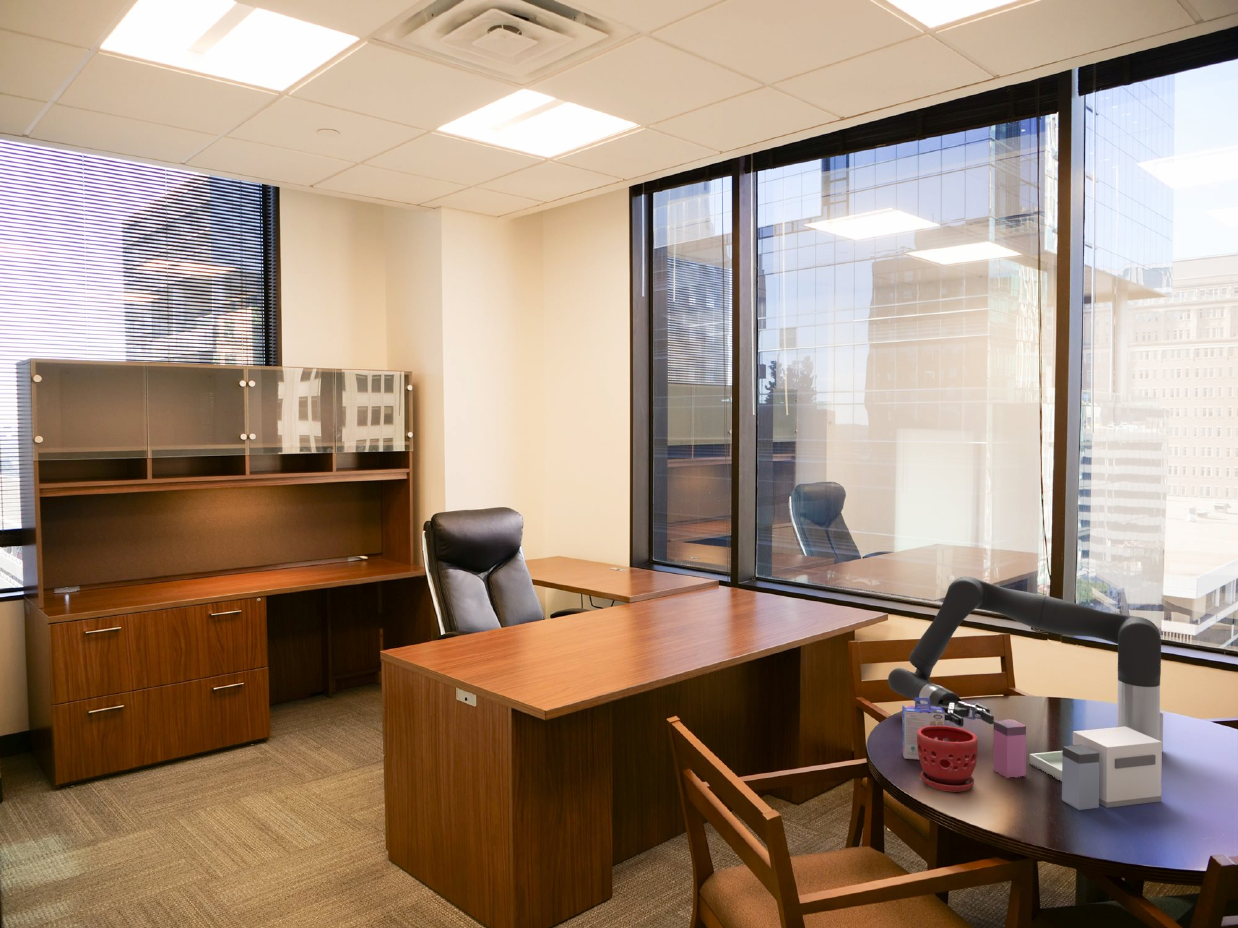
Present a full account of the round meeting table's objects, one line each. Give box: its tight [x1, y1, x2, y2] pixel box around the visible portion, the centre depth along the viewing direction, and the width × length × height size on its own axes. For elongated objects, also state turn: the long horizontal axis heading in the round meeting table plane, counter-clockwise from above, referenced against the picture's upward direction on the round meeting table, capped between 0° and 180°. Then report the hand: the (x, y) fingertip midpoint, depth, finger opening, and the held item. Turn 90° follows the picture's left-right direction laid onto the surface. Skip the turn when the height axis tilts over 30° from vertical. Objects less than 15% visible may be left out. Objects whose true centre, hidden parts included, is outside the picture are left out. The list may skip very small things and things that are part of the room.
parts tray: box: [1029, 750, 1062, 783], centre depth 201 cm, size 11×11×2 cm
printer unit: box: [1072, 726, 1163, 809], centre depth 187 cm, size 14×11×13 cm
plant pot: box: [917, 725, 979, 793], centre depth 194 cm, size 13×13×12 cm
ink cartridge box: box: [901, 697, 946, 760], centre depth 210 cm, size 10×6×14 cm, turn 78°
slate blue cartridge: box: [1061, 744, 1100, 811], centre depth 183 cm, size 5×5×12 cm
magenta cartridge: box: [992, 718, 1027, 779], centre depth 199 cm, size 5×5×12 cm
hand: (977, 721), depth 211 cm, fingers open, 8 cm apart
